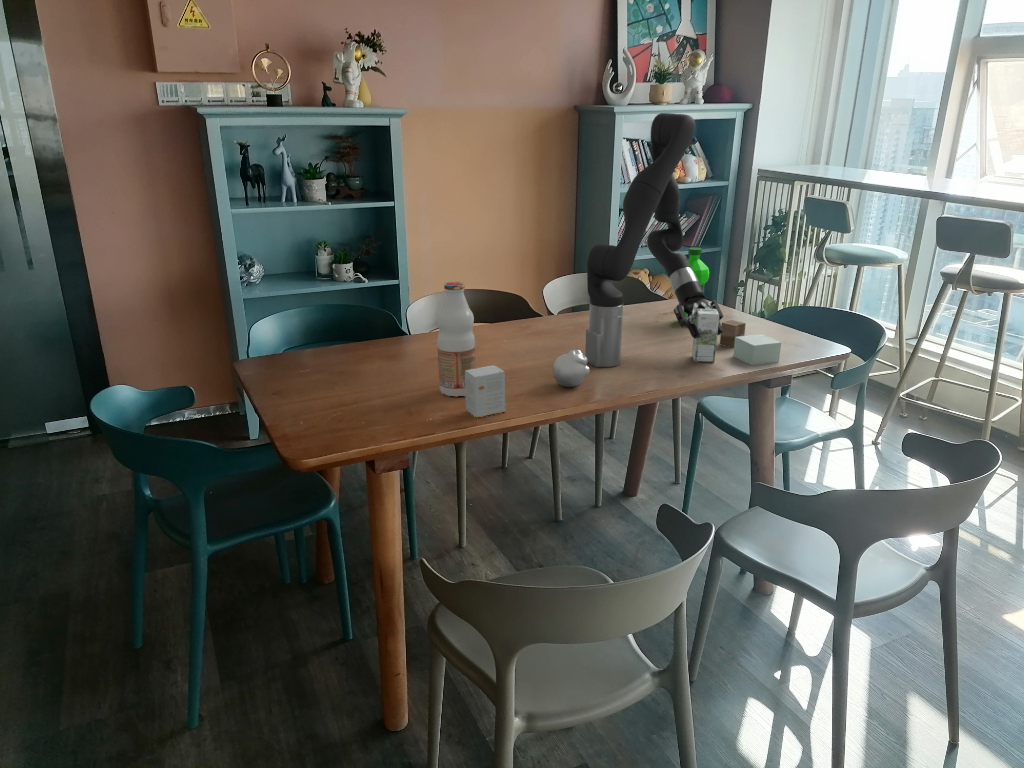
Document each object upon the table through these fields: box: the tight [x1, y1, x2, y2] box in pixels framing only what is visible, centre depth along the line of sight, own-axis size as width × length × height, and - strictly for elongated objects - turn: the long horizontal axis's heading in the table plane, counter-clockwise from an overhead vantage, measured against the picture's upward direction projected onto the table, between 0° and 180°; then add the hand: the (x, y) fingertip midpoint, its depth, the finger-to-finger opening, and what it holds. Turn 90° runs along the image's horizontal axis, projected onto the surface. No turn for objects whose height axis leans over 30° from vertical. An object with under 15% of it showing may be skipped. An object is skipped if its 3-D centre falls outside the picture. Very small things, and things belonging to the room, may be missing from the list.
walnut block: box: [719, 319, 746, 349], centre depth 227 cm, size 5×5×7 cm
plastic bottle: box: [678, 247, 710, 324], centre depth 248 cm, size 10×10×25 cm
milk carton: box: [691, 309, 720, 363], centre depth 212 cm, size 6×6×14 cm
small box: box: [465, 364, 506, 417], centre depth 176 cm, size 8×6×10 cm
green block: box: [732, 333, 782, 366], centre depth 214 cm, size 9×9×6 cm
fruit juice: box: [436, 281, 477, 395], centre depth 187 cm, size 9×9×28 cm
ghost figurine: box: [552, 348, 591, 388], centre depth 193 cm, size 9×10×10 cm
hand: (708, 335), depth 211 cm, fingers closed on milk carton, 7 cm apart
